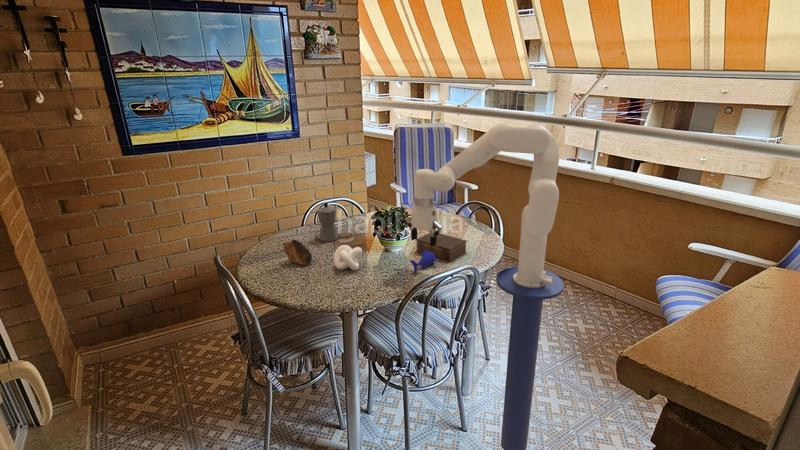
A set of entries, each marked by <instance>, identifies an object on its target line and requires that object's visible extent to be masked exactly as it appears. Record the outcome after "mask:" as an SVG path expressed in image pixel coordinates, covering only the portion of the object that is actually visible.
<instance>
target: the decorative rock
mask: <svg viewBox="0 0 800 450" xmlns="http://www.w3.org/2000/svg"><path fill="white" fill-rule="evenodd" d="M282 248H283V251H284V252H285V254H286V256H287V259H288V261H291V262H292V263H294V264H298V265H301V266H308V265H309V264H310V263H311V262H312V259H313V257H312V253H311V252H310V250H309V249H308V248H307V247H306V246H305V245H304V244H303V243H302V242H300V241H299V240H296V239H291V240H290V241H285V242H283V243H282Z"/></svg>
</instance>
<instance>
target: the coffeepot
mask: <svg viewBox="0 0 800 450" xmlns="http://www.w3.org/2000/svg"><path fill="white" fill-rule="evenodd" d="M316 214H317V217H318V222H319V224H320V227H319V237H320V238H318V239H319V240H320V241H321V242H324V243H325V242H335V241H336V240H338V238H339V234H338V230H337V226H336V224H335V223H336V217H337V208H336V207H334V206H329V203H327V202H326V203H325V202H324V204H323V207H318V209H316ZM323 239H324V240H323Z"/></svg>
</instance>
